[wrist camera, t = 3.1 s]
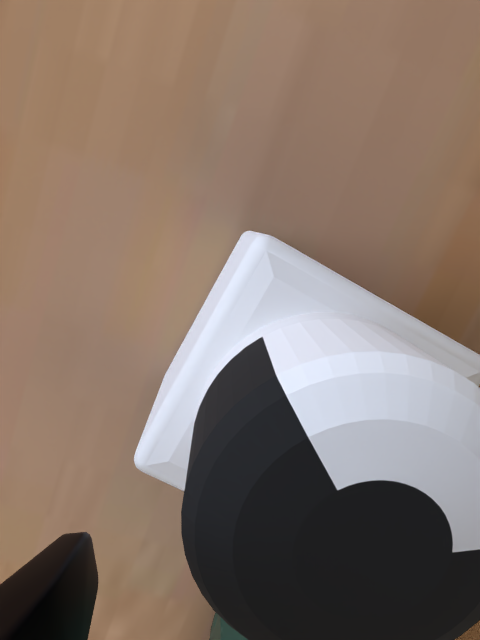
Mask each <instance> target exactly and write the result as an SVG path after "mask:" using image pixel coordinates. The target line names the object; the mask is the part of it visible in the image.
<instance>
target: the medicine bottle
mask: <svg viewBox="0 0 480 640" xmlns="http://www.w3.org/2000/svg"><path fill="white" fill-rule="evenodd" d="M479 385H480V355H479V354H477V353H475V352H474V351H472V350H470V349H469V348H467V347H465V346H463V345H462V344H460V343H458V342H456V341H455V340H453V339H451V338H449V337H448V336H446V335H444V334H442V333H441V332H439V331H437V330H435V329H434V328H432V327H430V326H428V325H427V324H425V323H423V322H421V321H420V320H418V319H416V318H414V317H413V316H411V315H409V314H407V313H406V312H404V311H402V310H400V309H399V308H397V307H395V306H394V305H392V304H390V303H388V302H387V301H385V300H383V299H381V298H380V297H378V296H376V295H374V294H373V293H371V292H369V291H367V290H366V289H364V288H362V287H360V286H359V285H357V284H355V283H353V282H352V281H350V280H348V279H346V278H345V277H343V276H341V275H339V274H338V273H336V272H334V271H332V270H331V269H329V268H327V267H325V266H324V265H322V264H320V263H319V262H317V261H315V260H313V259H312V258H310V257H308V256H306V255H305V254H303V253H301V252H299V251H298V250H296V249H294V248H292V247H291V246H289V245H287V244H285V243H284V242H282V241H280V240H278V239H277V238H275V237H273V236H270V235H266V234H262V233H258V232H253V231H246V232H244V233H243V234H242V235H241V237H240V239H239V241H238V243H237V244H236V246H235V248H234V250H233V252H232V253H231V255H230V257H229V259H228V261H227V263H226V264H225V266H224V268H223V270H222V272H221V274H220V275H219V277H218V279H217V281H216V283H215V284H214V286H213V288H212V290H211V292H210V294H209V295H208V297H207V299H206V301H205V303H204V305H203V306H202V308H201V310H200V312H199V314H198V315H197V317H196V319H195V321H194V323H193V325H192V326H191V328H190V330H189V332H188V334H187V336H186V337H185V339H184V341H183V343H182V345H181V347H180V348H179V350H178V352H177V354H176V356H175V357H174V359H173V361H172V363H171V365H170V367H169V368H168V370H167V372H166V374H165V376H164V379H163V381H162V384H161V387H160V389H159V392H158V395H157V397H156V400H155V402H154V405H153V408H152V410H151V413H150V415H149V418H148V421H147V423H146V426H145V428H144V431H143V434H142V436H141V439H140V442H139V444H138V447H137V449H136V452H135V456H134V462H135V465H136V467H137V468H138V469H139V470H140V471H142V472H144V473H146V474H148V475H150V476H152V477H154V478H157V479H159V480H161V481H163V482H165V483H167V484H169V485H171V486H174V487H176V488H178V489H180V490H182V491H184V497H183V504H182V511H181V519H182V539H183V545H184V551H185V556H186V559H187V562H188V565H189V568H190V570H191V573H192V576H193V578H194V580H195V582H196V584H197V585H198V587H199V589H200V591H201V593H202V595H203V596H204V597H205V599H206V600H207V601H208V603H209V604H210V605H211V607H212V608H213V610H214V611H215V612H216V613H217V614H218V615H219V616H220V617H221V618H222V619H223V620H224V621H225V622H226V623H227V624H228V625H229V626H230V627H232V628H233V629H234V630H236V631H237V632H238V633H240V634H241V635H242V636H244V637H245V638H246V639H248V640H454V639H456V638H458V637H459V636H461V635H462V634H463V633H464V632H466V631H467V630H468V629H469V628H471V627H472V626H473V625H474V624H476V623H477V622H478V621H479V620H480V388H479V387H478V386H479Z"/></svg>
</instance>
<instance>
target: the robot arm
mask: <svg viewBox="0 0 480 640" xmlns="http://www.w3.org/2000/svg"><path fill="white" fill-rule="evenodd" d="M97 590H98V572H97V566H96V560H95V555H94V549H93V543H92V539H91V537H90V534H88V533H87V532H80V533H69V534H64V535H62V536H61V537H59V538H58V539H57V540H55V541H54V542H53V543H52V544H50V545H49V546H48V547H47V548H45V549H44V550H43V551H42V552H40V553H39V554H38V555H37V556H35V557H34V558H33V559H32V560H30V561H29V562H28V563H27V564H25V565H24V566H23V567H22V568H20V569H19V570H18V571H17V572H15V573H14V574H13V575H12V576H10V577H9V578H8V579H7V580H5V581H4V582H3V583H2V584H0V640H87V639H88V634H89V629H90V625H91V620H92V615H93V610H94V605H95V600H96V595H97Z"/></svg>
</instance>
